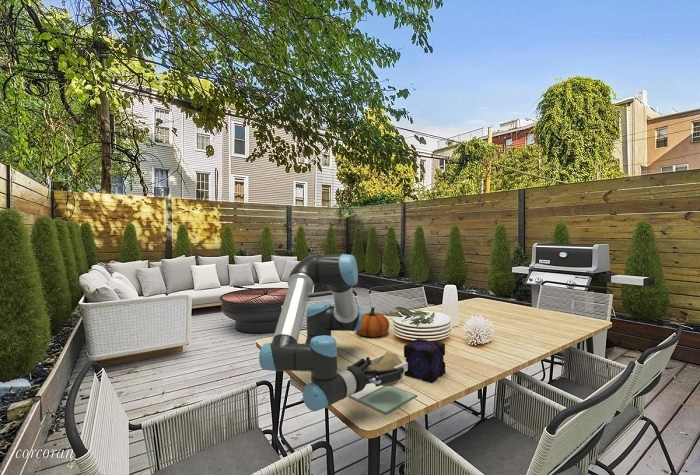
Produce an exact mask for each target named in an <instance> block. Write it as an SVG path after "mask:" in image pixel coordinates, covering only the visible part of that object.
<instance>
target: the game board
mask: <svg viewBox="0 0 700 475" xmlns="http://www.w3.org/2000/svg"><path fill="white" fill-rule="evenodd" d="M417 397H418V395H417V394H415V393H412V392H410V391H408V390H407V391H406V390H404V389H402V388H399V387H397V386H395V385H393V386H381V385H380V386H378V387H377V386H375V384H374V383H370V384H366V386H365V388H364V389H363V390H362V391H360V392H358V393H355V394H353V395H351V396H349V397H348V398H350V399H352V400H354V401H356V402H358V403H360V404H362V405H365V406H366V407H368V408H370V409H372V410H375V411H376V412H379V413H381V414H383V415H385V416H387V415H388V414H390V413H391V412H394V411H395V410H396V409H398V408H400V407H402V406H403V405H405V404H407V403H408V402H410V401H412V400H413V399H415V398H417Z"/></svg>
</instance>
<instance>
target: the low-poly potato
mask: <svg viewBox="0 0 700 475" xmlns="http://www.w3.org/2000/svg"><path fill="white" fill-rule="evenodd" d="M383 355H384V357H383V358H382V360H381V361H380V362H379V363H378V364H374V365H368V367H367V369H368V370H377V371H380V370H388V369H394V367H396V366H398V365H400V364H402V363H403V361H402V360H401V358H400V357H399V355H397V353H393V352H388V351H386V352H385V354H383ZM402 374H403V375H404V373H402ZM402 374H401V377H402ZM374 378H375V373H374ZM398 381H399V380H397V381H393V382H389V383H385V384H382V385H381V386H395V385H397V384H398V383H397V382H398ZM372 383H373V382H372ZM396 383H397V384H396ZM374 384H375V383H374Z"/></svg>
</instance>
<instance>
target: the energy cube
mask: <svg viewBox="0 0 700 475" xmlns="http://www.w3.org/2000/svg"><path fill="white" fill-rule="evenodd" d="M428 340H429V339H423V338H416V339H414V340H413V342H408V343H407V344H405V345H403V358H405V362H408V371H405V372H404V373H403V377H408V378H411V379H421V382H426V383H430V384H434V383H435V382H436V381H437V380H438V377H440V378H441V377H443V376H444V375H445V374H446V362H445V361H444V359H445V358H444V356H445V355H446V344H445V343H443V342H437V341H434V342H430V341H428Z"/></svg>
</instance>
